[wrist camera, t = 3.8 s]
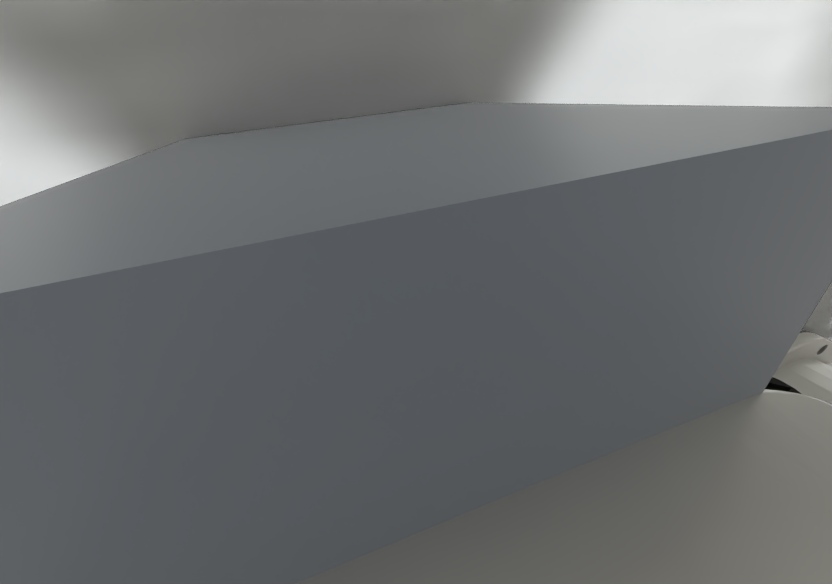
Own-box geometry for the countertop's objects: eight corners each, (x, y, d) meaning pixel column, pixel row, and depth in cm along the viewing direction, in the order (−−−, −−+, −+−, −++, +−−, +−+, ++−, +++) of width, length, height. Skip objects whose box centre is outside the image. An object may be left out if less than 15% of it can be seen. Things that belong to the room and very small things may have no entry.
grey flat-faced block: (468, 102, 10) (937, 109, 3) (472, 390, 16) (618, 624, 9) (185, 138, 8) (-518, 396, 1) (310, 443, 15) (330, 782, 7)
